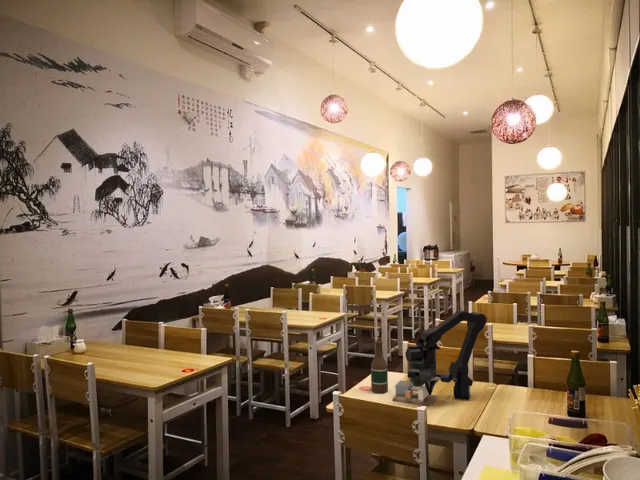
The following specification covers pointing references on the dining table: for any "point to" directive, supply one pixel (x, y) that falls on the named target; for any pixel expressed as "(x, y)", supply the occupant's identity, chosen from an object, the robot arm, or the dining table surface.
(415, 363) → the mug
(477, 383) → the dining table surface
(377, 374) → the beer bottle
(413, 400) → the base
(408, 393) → the peach cube
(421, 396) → the plunger
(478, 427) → the dining table surface
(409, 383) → the notched steel block
